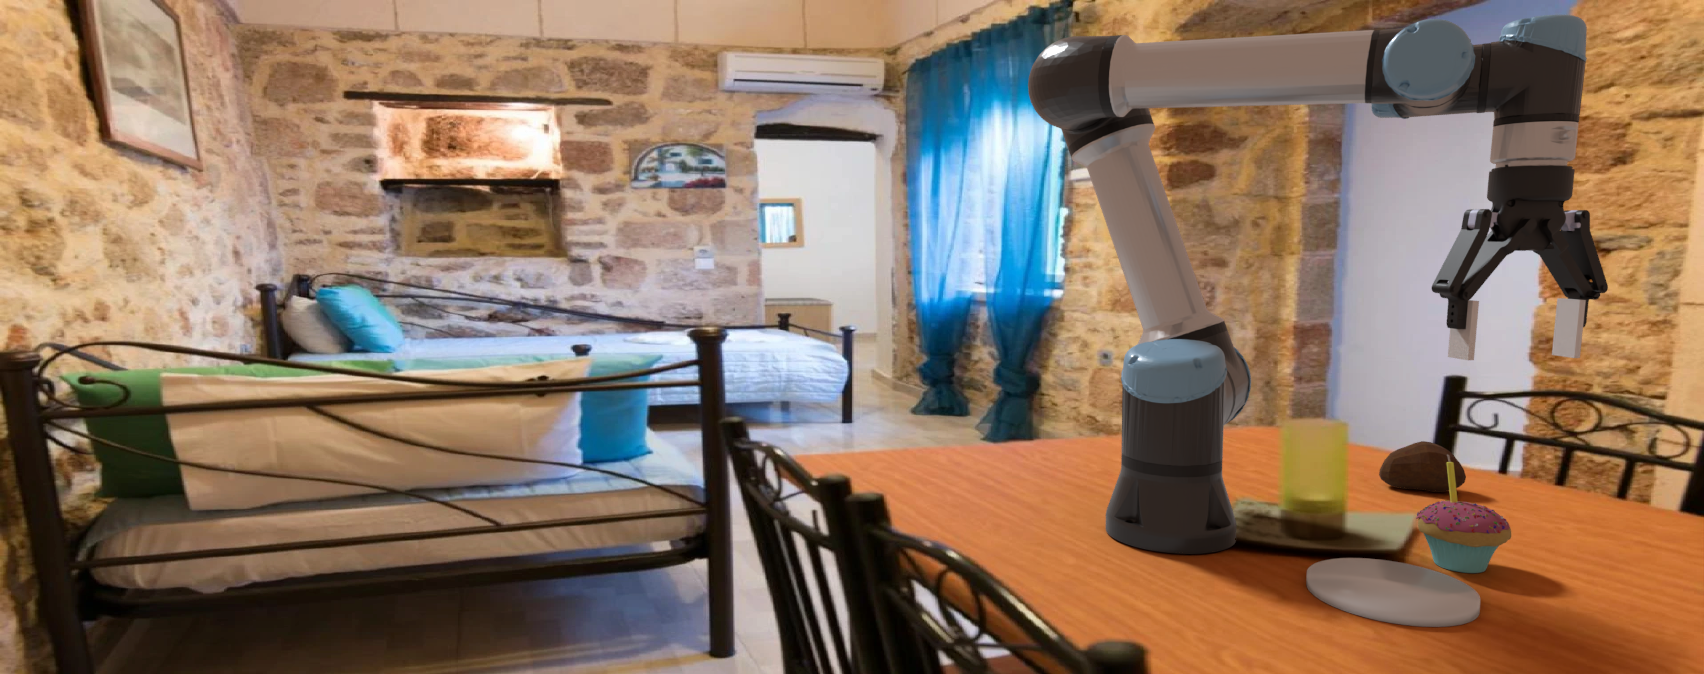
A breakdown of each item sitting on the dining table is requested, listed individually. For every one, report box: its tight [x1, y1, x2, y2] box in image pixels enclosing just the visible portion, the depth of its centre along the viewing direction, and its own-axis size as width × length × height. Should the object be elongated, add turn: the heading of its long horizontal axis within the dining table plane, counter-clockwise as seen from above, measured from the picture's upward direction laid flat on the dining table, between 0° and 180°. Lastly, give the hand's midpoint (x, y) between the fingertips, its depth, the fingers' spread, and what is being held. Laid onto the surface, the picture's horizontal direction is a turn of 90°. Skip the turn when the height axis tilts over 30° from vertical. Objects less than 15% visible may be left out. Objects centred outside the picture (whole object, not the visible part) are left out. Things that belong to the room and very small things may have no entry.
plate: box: [1305, 557, 1481, 628], centre depth 91 cm, size 15×15×1 cm
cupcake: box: [1415, 455, 1512, 574], centre depth 98 cm, size 9×8×12 cm
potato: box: [1378, 440, 1467, 493], centre depth 128 cm, size 7×10×7 cm
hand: (1513, 357), depth 101 cm, fingers open, 13 cm apart
